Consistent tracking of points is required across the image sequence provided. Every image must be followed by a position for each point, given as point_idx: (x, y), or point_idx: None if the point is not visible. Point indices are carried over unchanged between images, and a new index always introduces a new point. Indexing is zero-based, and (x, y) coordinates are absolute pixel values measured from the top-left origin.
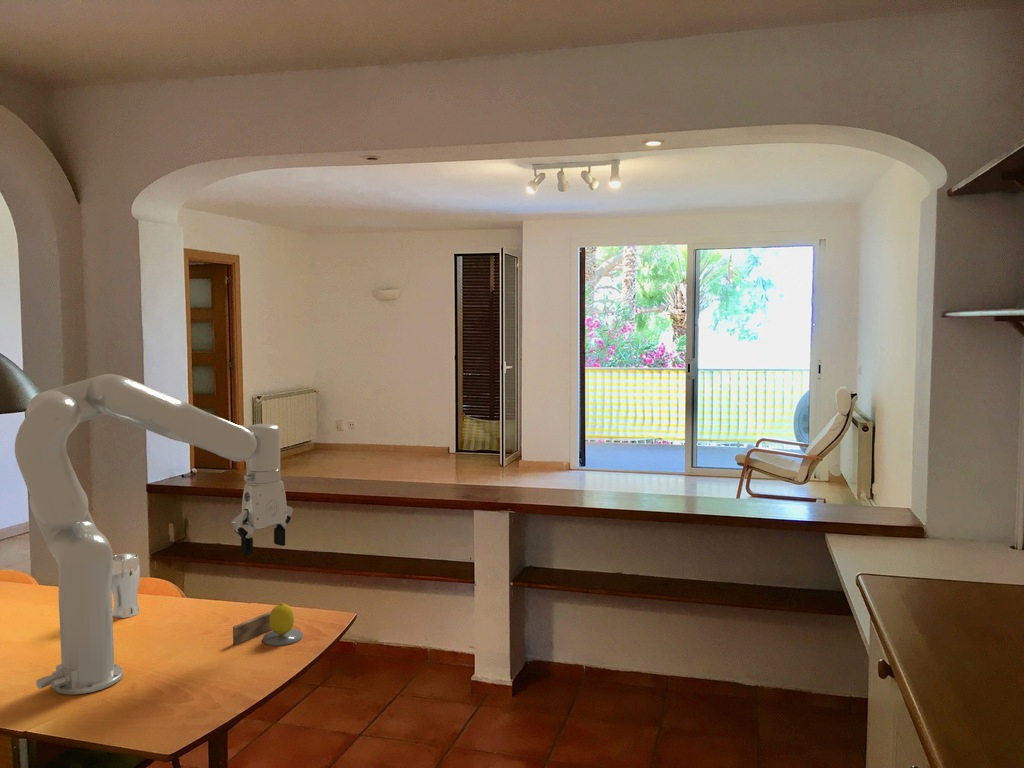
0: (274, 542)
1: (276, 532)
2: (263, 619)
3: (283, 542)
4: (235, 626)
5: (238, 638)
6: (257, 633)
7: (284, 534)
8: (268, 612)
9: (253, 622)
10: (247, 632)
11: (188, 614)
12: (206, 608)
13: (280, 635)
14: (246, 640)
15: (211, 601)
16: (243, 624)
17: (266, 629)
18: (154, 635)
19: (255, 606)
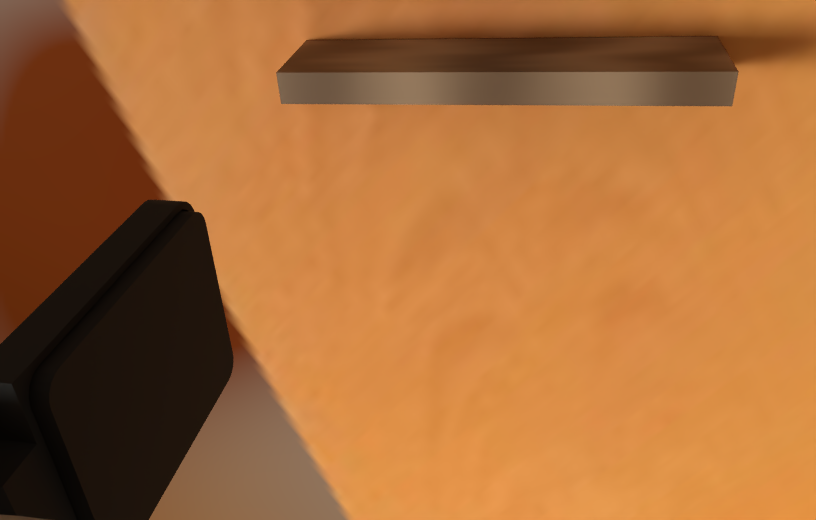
0: (225, 374)
1: (133, 471)
2: (493, 66)
3: (161, 228)
4: (719, 96)
5: (708, 46)
6: (549, 42)
7: (62, 304)
8: (420, 100)
9: (581, 68)
10: (632, 52)
11: (504, 491)
12: (416, 478)
13: None
14: (638, 37)
15: (351, 508)
16: (667, 77)
17: (476, 43)
18: (761, 454)
19: (272, 338)
